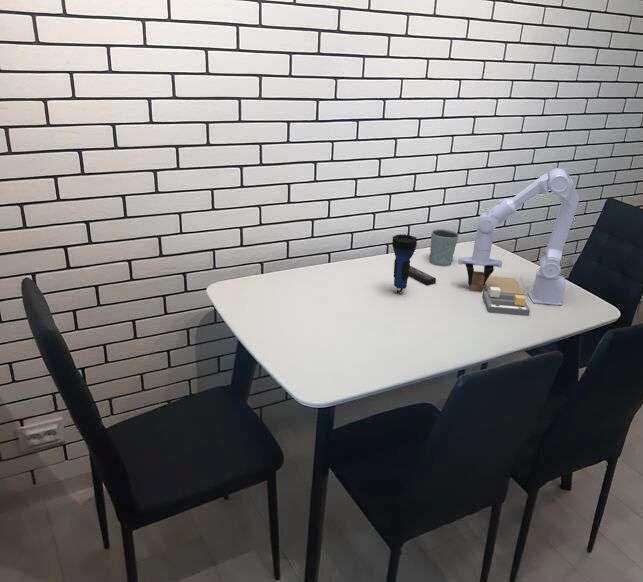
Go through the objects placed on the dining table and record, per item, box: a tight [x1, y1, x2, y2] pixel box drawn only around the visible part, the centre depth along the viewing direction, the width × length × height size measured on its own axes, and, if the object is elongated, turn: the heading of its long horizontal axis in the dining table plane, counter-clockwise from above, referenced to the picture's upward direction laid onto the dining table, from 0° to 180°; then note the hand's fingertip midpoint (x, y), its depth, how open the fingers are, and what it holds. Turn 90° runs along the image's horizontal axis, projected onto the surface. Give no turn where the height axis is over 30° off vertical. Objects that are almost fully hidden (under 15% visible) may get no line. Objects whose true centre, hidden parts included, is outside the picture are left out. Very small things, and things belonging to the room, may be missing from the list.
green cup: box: [429, 228, 459, 267], centre depth 222 cm, size 10×10×12 cm
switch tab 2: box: [513, 294, 526, 306], centre depth 187 cm, size 3×3×2 cm
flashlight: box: [392, 233, 418, 294], centre depth 192 cm, size 8×8×20 cm
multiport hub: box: [408, 265, 437, 287], centre depth 210 cm, size 4×14×2 cm, turn 34°
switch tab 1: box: [489, 287, 501, 297], centre depth 192 cm, size 3×3×2 cm
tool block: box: [468, 270, 485, 293], centre depth 201 cm, size 4×4×6 cm
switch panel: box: [482, 291, 531, 317], centre depth 190 cm, size 13×12×2 cm
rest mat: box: [484, 275, 524, 295], centre depth 206 cm, size 12×14×1 cm
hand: (476, 284), depth 202 cm, fingers closed on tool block, 4 cm apart
